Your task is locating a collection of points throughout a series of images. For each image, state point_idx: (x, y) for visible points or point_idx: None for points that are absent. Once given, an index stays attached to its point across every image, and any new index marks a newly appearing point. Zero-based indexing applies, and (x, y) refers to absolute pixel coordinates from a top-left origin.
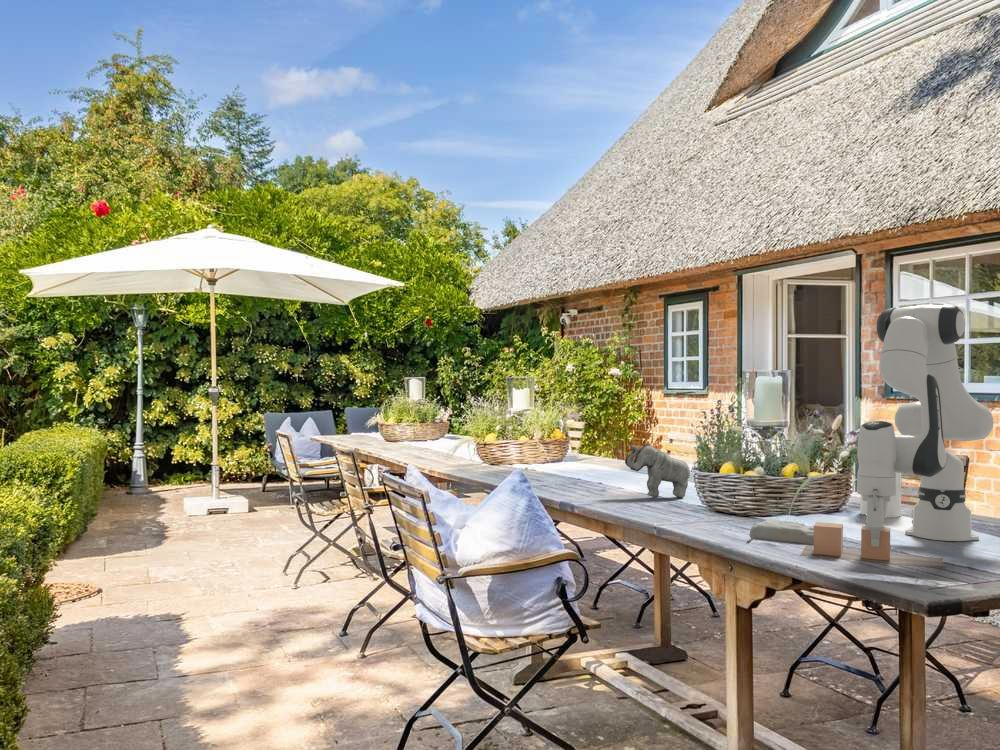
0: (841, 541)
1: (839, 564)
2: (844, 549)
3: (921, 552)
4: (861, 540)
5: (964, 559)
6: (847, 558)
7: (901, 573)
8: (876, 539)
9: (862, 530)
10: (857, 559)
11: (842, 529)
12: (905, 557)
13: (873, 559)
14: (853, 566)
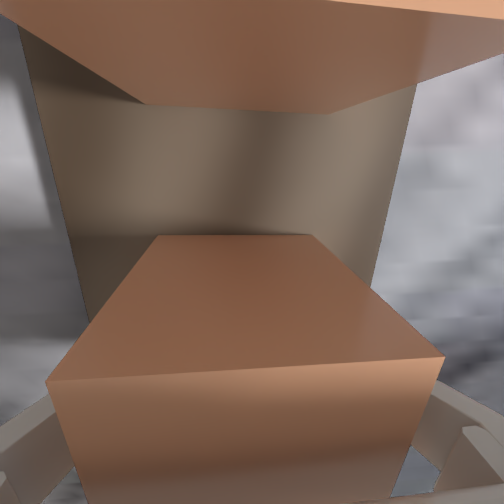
0: (156, 79)
1: (32, 101)
2: (406, 125)
3: (488, 404)
4: (115, 290)
5: (399, 488)
6: (86, 153)
7: (32, 387)
8: None
9: (55, 382)
10: (94, 217)
11: (360, 49)
12: None
13: None
14: (33, 191)
